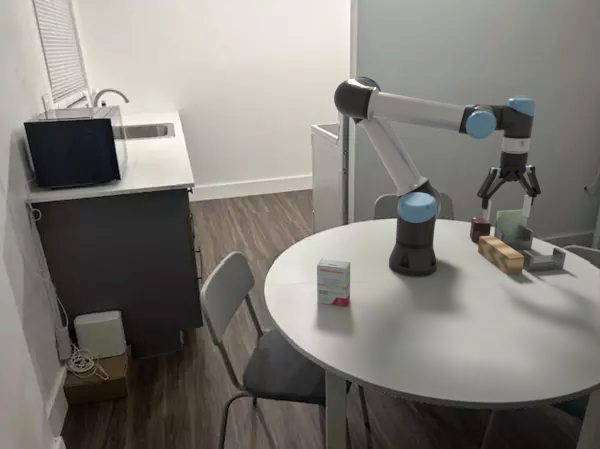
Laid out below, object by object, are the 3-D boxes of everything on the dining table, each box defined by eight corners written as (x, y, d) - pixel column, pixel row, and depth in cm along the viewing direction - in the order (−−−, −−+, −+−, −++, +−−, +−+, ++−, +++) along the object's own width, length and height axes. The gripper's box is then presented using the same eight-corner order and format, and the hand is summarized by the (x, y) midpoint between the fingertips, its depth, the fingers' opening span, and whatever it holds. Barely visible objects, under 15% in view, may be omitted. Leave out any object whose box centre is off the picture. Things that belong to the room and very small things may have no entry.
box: (489, 242, 170) (491, 223, 167) (471, 241, 171) (473, 222, 168) (486, 236, 175) (488, 218, 173) (469, 235, 176) (471, 217, 174)
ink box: (350, 299, 133) (351, 261, 128) (346, 307, 128) (347, 268, 124) (321, 294, 135) (321, 257, 131) (316, 302, 131) (316, 264, 127)
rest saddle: (528, 272, 147) (531, 256, 145) (519, 265, 151) (522, 250, 149) (563, 268, 148) (566, 253, 146) (553, 262, 152) (556, 247, 151)
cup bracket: (499, 251, 162) (504, 216, 157) (491, 245, 167) (496, 211, 162) (531, 248, 164) (537, 213, 159) (522, 243, 168) (527, 208, 164)
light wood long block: (521, 274, 146) (524, 256, 144) (506, 275, 145) (509, 257, 143) (491, 251, 163) (493, 235, 161) (477, 252, 162) (479, 236, 160)
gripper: (482, 155, 136) (474, 224, 143) (560, 151, 139) (549, 218, 147) (470, 150, 143) (463, 216, 150) (544, 146, 146) (534, 210, 154)
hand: (505, 217), depth 148 cm, fingers open, 13 cm apart
